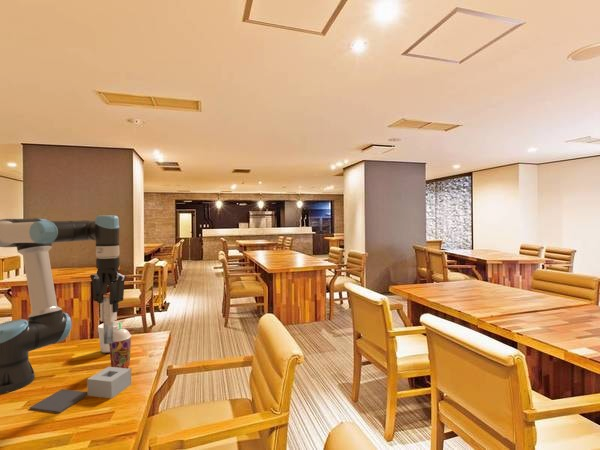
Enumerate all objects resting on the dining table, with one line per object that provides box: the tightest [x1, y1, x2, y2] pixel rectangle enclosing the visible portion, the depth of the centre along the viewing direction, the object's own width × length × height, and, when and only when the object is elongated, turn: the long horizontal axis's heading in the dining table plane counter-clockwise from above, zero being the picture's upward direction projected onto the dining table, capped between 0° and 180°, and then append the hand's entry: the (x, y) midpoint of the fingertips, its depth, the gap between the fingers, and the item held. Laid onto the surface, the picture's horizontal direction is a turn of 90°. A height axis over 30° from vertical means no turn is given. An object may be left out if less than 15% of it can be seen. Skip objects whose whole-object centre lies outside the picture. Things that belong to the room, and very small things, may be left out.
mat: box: [29, 388, 88, 414], centre depth 115 cm, size 12×12×1 cm
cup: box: [97, 320, 123, 355], centre depth 158 cm, size 10×10×13 cm
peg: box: [102, 292, 114, 344], centre depth 122 cm, size 3×3×18 cm
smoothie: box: [109, 321, 132, 369], centre depth 139 cm, size 8×8×20 cm
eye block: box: [86, 366, 132, 399], centre depth 123 cm, size 10×10×6 cm
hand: (108, 320), depth 122 cm, fingers closed on peg, 3 cm apart
